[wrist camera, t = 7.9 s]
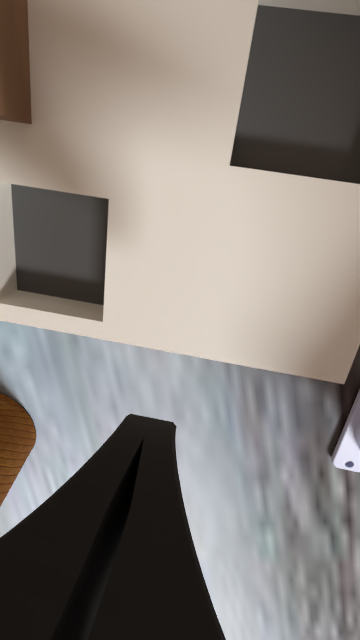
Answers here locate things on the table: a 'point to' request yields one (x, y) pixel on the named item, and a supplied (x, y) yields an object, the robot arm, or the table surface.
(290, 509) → the table surface
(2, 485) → the disposable coffee cup
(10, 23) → the walnut block
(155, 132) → the trap board
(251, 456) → the table surface
